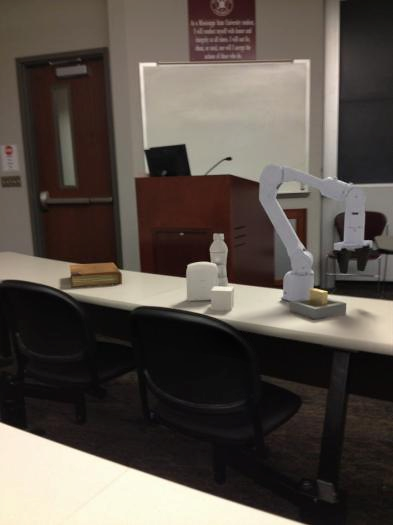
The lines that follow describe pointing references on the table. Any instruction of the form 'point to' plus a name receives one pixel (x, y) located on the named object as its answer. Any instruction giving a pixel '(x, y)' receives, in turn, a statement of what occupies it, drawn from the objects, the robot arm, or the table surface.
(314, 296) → the yellow block
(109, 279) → the diary
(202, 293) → the photo printer
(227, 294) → the off-white cube
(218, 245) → the plastic bottle
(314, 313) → the grey well
